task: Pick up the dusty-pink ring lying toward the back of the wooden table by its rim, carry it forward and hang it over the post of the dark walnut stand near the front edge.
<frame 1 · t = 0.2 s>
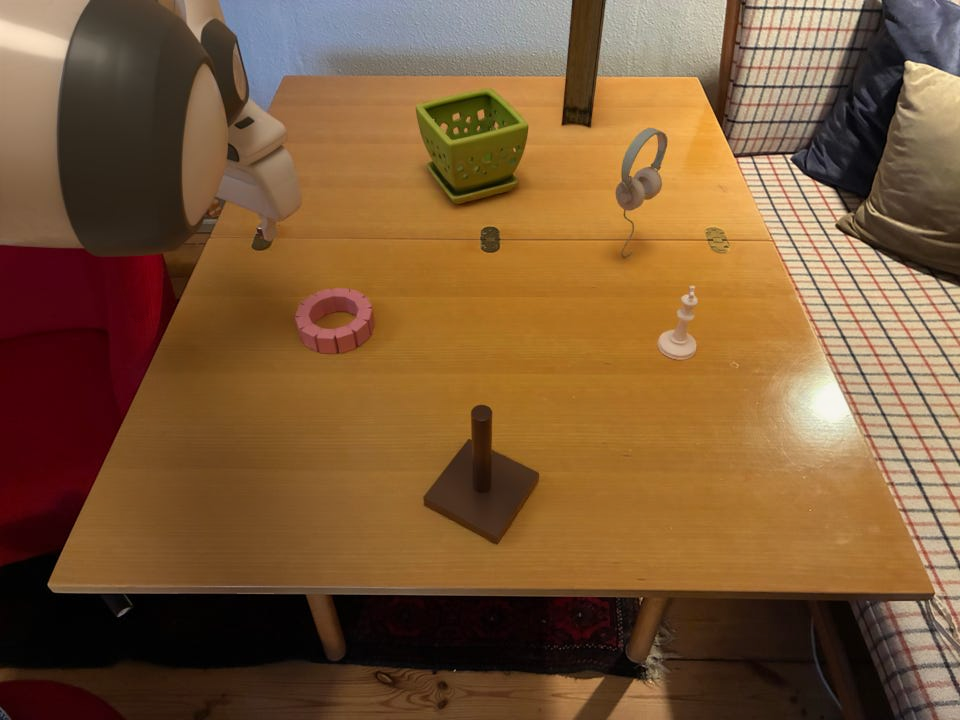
hand: (240, 225, 85), 14 cm above the table, tool pointing down, fingers open, 8 cm apart
stand: (482, 492, 75), on the table
headphones: (626, 258, 103), on the table
chess piece: (676, 347, 90), on the table
ring: (337, 327, 93), on the table
flower pot: (472, 185, 117), on the table
book: (578, 109, 135), on the table
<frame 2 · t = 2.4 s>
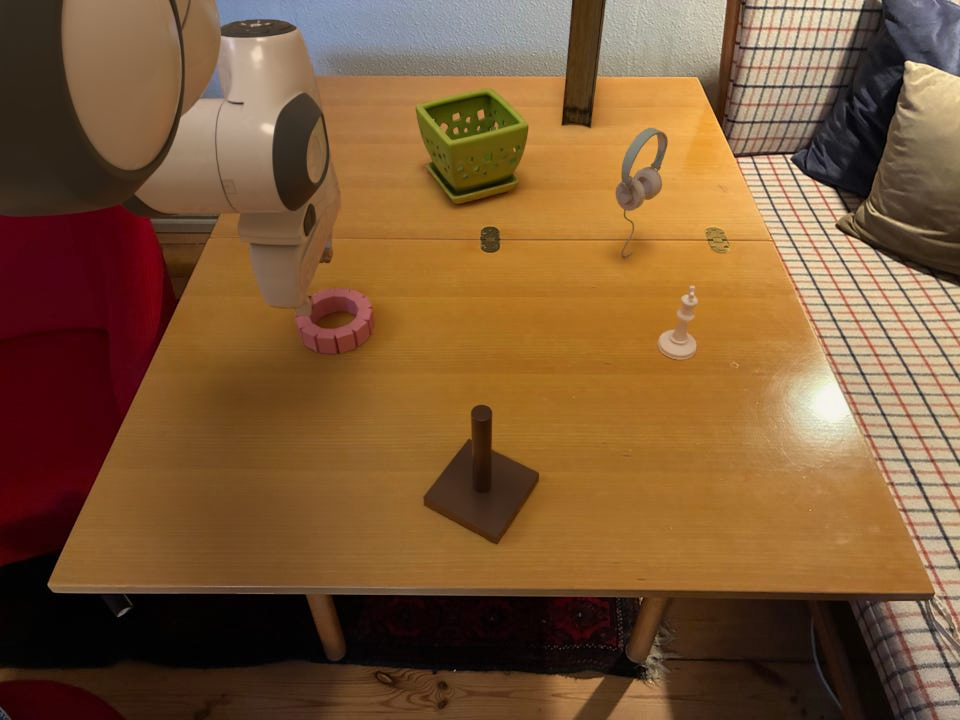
hand: (316, 284, 82), 11 cm above the table, tool pointing down, fingers open, 8 cm apart
nothing on the table moved.
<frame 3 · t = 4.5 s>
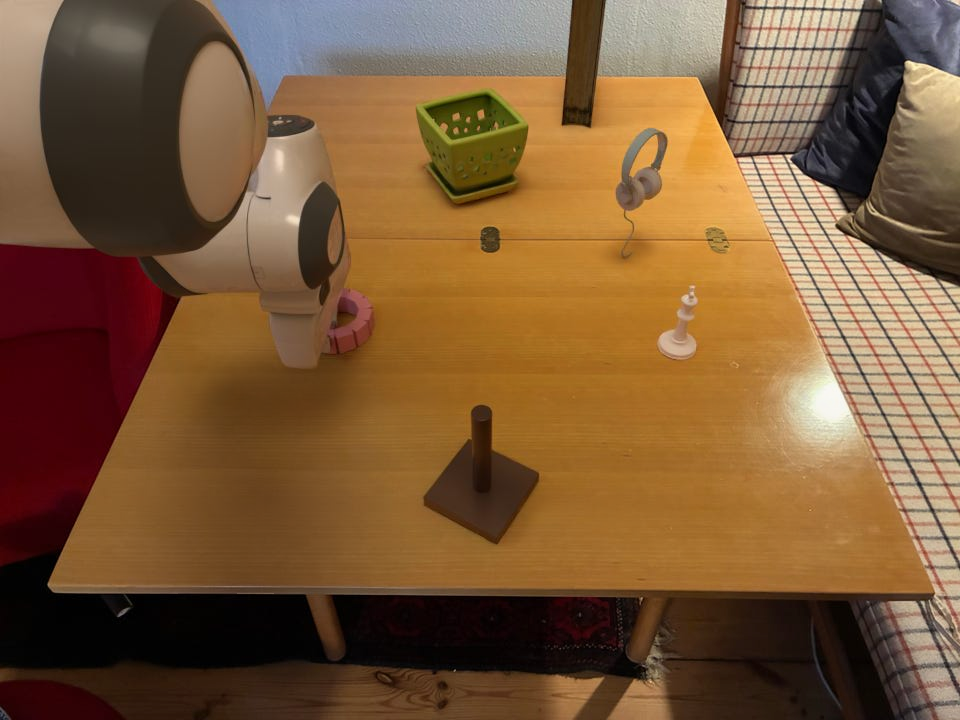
hand: (327, 340, 89), 2 cm above the table, tool pointing down, fingers closed on ring, 2 cm apart
ring: (337, 327, 93), on the table, touching gripper
everything else where it was.
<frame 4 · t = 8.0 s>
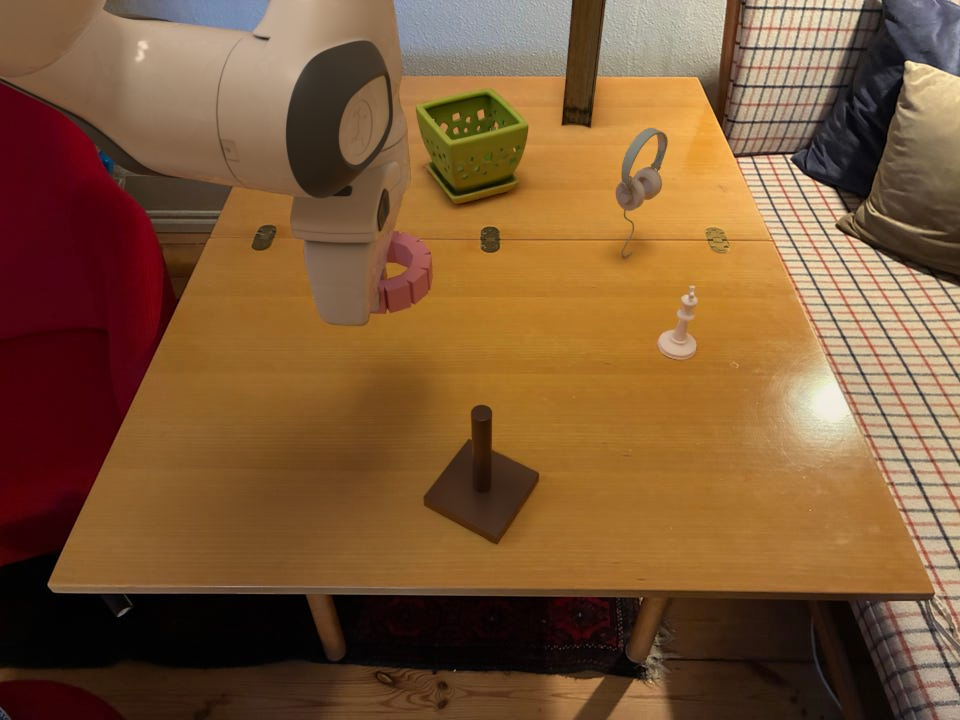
hand: (374, 295, 66), 21 cm above the table, tool pointing down, fingers closed on ring
ring: (383, 281, 70), point 19 cm above the table, touching gripper
everything else where it was.
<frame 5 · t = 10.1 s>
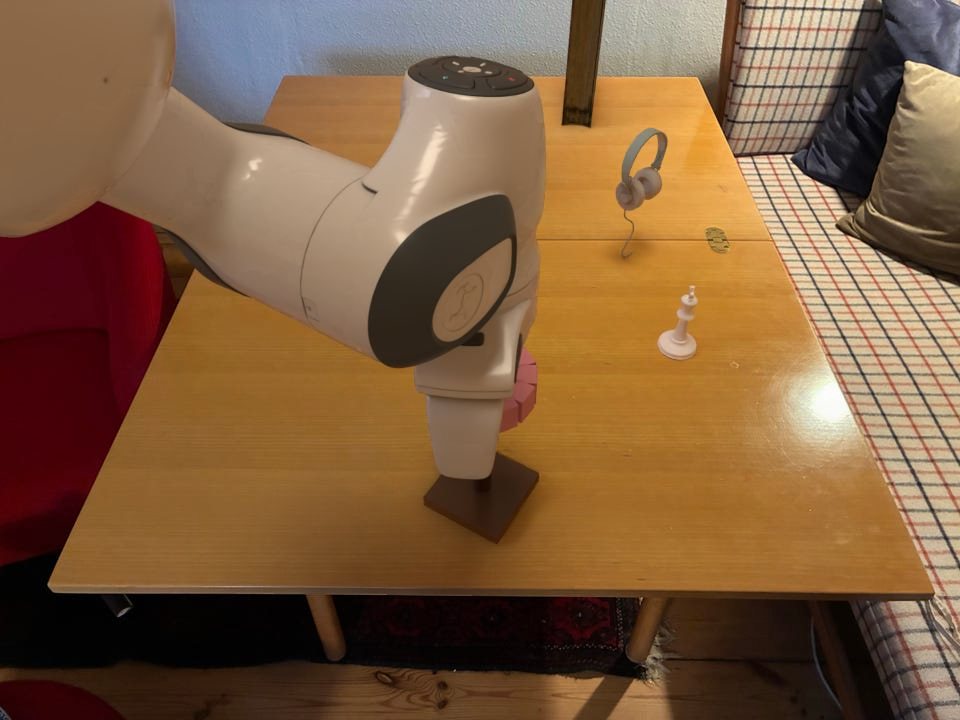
hand: (477, 415, 59), 18 cm above the table, tool pointing down, fingers closed on ring
ring: (481, 392, 63), point 16 cm above the table, touching gripper
everything else where it was.
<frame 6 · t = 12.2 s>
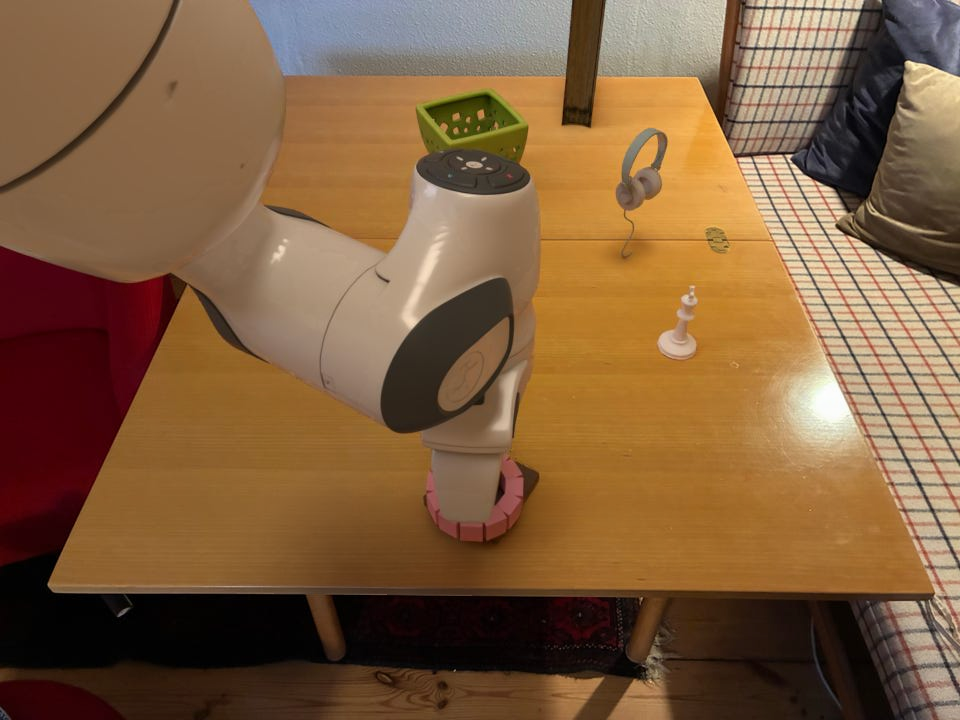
hand: (477, 457, 63), 12 cm above the table, tool pointing down, fingers open, 3 cm apart
ring: (475, 499, 72), point 1 cm above the table, touching stand
everything else where it was.
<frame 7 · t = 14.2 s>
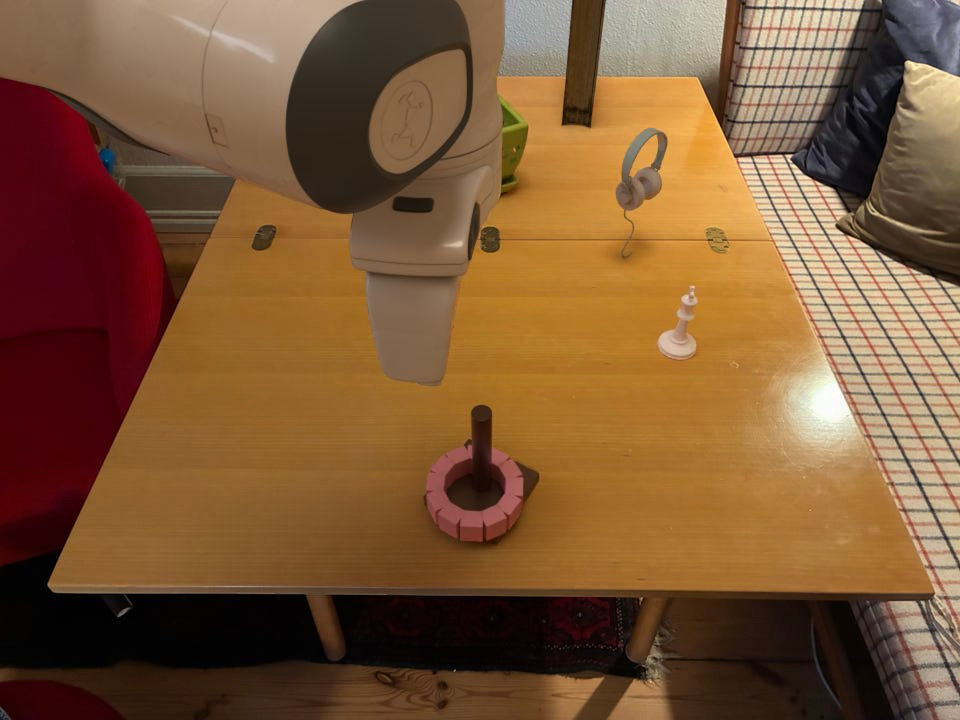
hand: (439, 332, 52), 28 cm above the table, tool pointing down, fingers open, 8 cm apart
nothing on the table moved.
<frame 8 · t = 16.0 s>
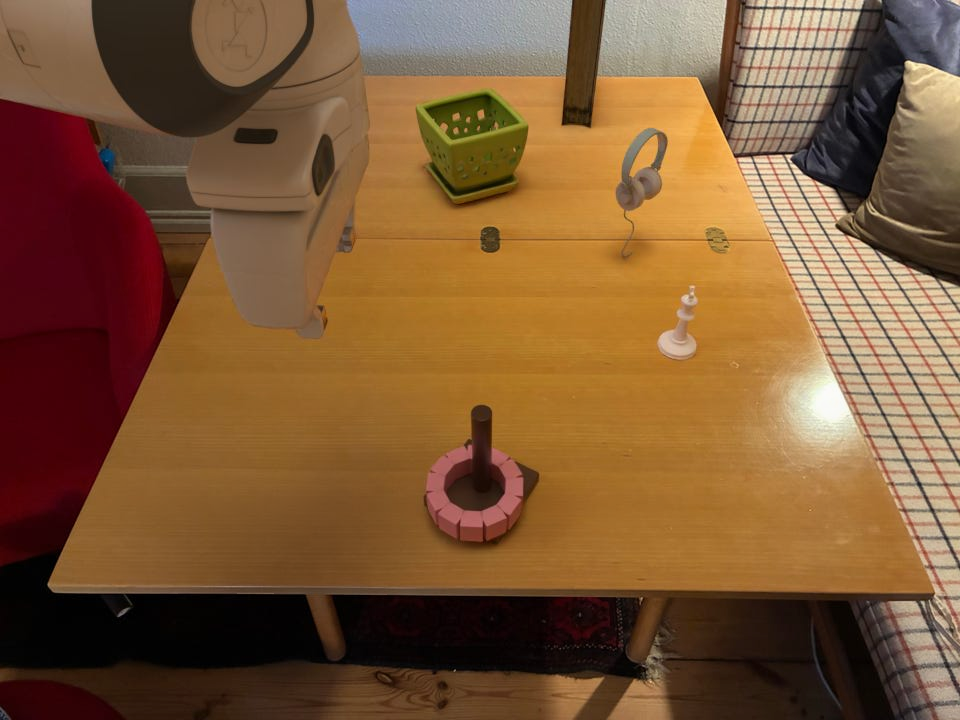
hand: (329, 286, 50), 31 cm above the table, tool pointing down, fingers open, 8 cm apart
nothing on the table moved.
at the end: ring 1.9 cm from the stand (horizontally); ring point 1.5 cm above the table; the gripper is holding nothing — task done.
